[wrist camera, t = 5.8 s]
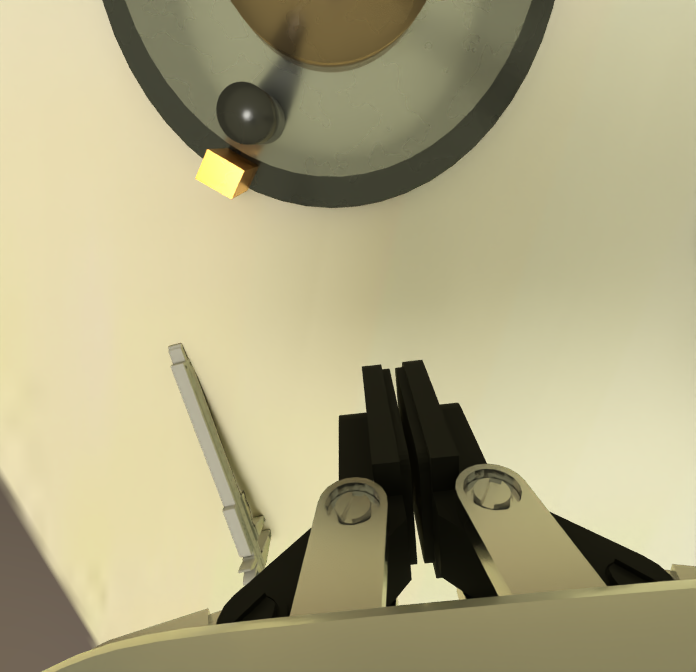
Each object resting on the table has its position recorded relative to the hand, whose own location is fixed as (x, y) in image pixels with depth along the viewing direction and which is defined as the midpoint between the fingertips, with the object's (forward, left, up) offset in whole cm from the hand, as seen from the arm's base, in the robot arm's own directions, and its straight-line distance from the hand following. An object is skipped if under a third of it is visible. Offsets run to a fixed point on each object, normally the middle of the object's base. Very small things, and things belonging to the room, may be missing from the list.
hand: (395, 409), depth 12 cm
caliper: (+11, +17, -20) cm, 28 cm away
